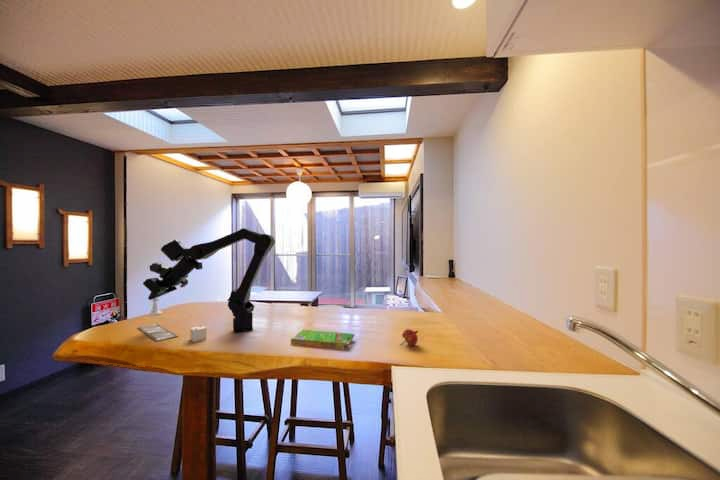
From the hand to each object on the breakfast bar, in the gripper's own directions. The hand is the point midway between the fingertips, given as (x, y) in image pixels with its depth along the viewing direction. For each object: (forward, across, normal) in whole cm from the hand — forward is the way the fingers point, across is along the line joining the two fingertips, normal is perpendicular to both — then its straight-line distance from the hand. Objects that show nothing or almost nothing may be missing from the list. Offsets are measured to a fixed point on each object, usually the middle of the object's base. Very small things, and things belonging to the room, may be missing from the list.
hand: (151, 298), depth 101 cm
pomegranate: (-58, +20, +77) cm, 99 cm away
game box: (-38, +14, +57) cm, 70 cm away
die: (-7, +10, +25) cm, 27 cm away
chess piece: (+4, 0, +6) cm, 7 cm away
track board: (+7, +2, +11) cm, 13 cm away
